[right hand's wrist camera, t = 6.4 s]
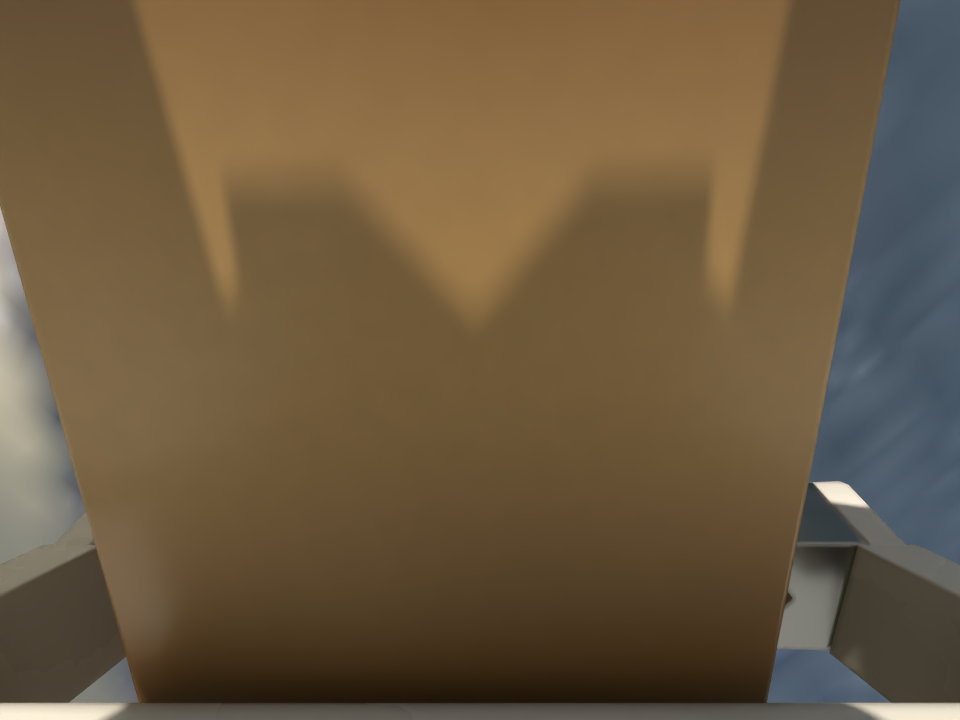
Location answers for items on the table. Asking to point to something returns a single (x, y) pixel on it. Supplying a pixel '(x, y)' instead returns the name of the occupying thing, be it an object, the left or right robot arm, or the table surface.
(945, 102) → the table surface
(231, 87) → the bar
